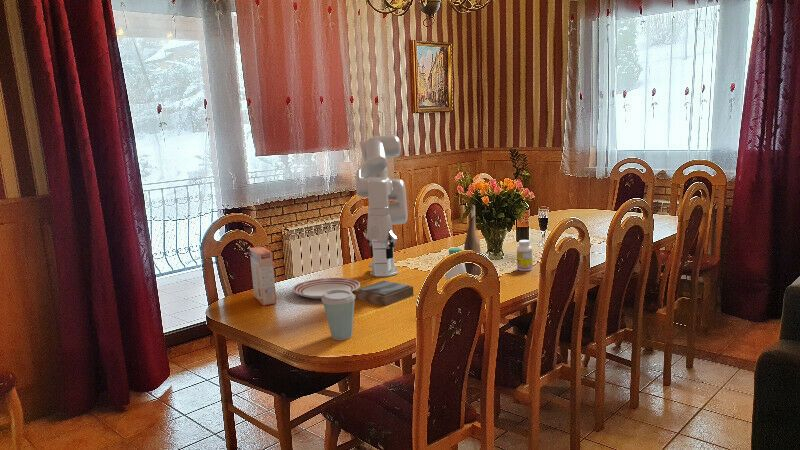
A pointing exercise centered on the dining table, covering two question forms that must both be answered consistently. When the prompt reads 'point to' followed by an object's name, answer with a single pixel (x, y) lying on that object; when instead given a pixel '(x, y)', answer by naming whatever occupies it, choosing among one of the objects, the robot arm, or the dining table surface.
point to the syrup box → (381, 259)
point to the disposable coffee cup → (339, 312)
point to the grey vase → (472, 243)
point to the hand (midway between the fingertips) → (382, 256)
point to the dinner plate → (324, 286)
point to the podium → (384, 293)
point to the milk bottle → (456, 269)
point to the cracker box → (263, 275)
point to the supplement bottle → (524, 256)
